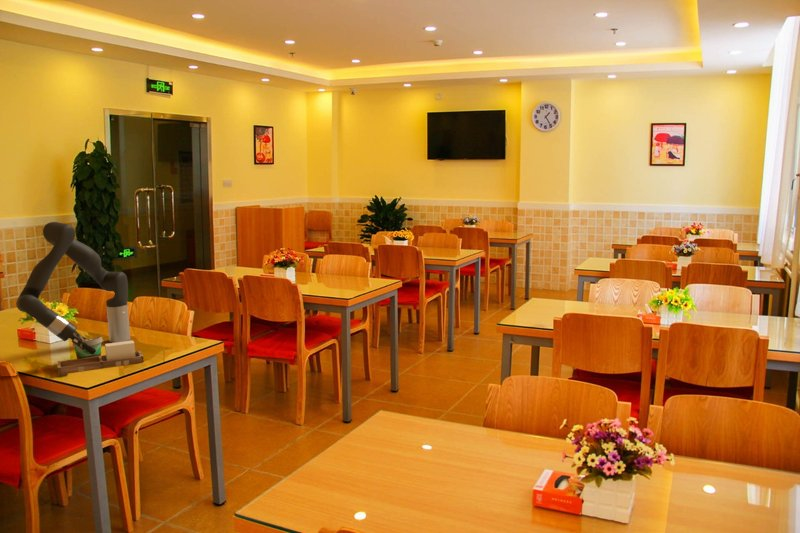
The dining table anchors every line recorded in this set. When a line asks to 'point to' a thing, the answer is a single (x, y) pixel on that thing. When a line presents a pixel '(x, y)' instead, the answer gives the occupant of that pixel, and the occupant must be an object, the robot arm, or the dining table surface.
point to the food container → (93, 343)
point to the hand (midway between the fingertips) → (94, 350)
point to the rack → (95, 363)
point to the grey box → (120, 350)
